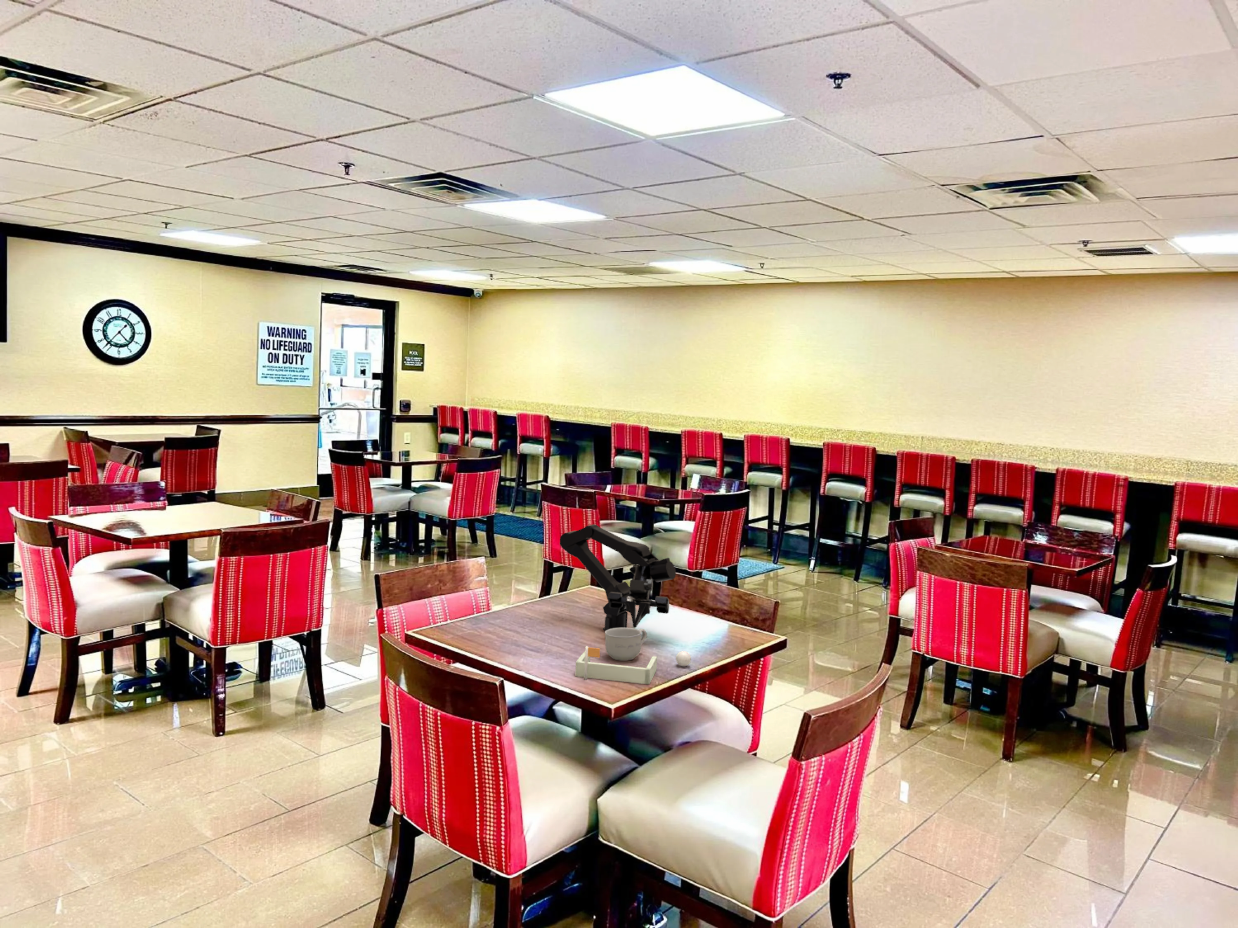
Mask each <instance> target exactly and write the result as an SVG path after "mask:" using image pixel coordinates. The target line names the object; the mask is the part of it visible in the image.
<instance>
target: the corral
mask: <svg viewBox="0 0 1238 928" xmlns="http://www.w3.org/2000/svg"><path fill="white" fill-rule="evenodd" d="M600 656H601V648H599V647H598V648H596V647H589V646H588V645H586V646H585V651H583V652H582V654H581V655H580V656H579V657H578V659H577V660H576V661H575V673H574V675H575V677H579V678H583V680H588V679H598V680H604V681H605V680H606V681H613V682H614V681H615V682H623V683H624V682H625V683H632V684H640V685H641V684H642V685H650V684H651V682H652V679H653V677H654V676H655V674H656V673H657V665H658V664H657V663H658V656H656V655H652V657H651V658H650V661H649V662H648V665H647V666H646V667H640V666H639V667H638V666H630V665H620V664H613V663H612V664H610V663H603V662H602V663H600V662H591V658H599V659H600V658H601V657H600Z"/></svg>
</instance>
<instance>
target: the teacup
mask: <svg viewBox="0 0 1238 928" xmlns="http://www.w3.org/2000/svg"><path fill="white" fill-rule="evenodd" d="M604 636H605V637H604V640H605V641H604V643H605V652H606V654H607V655H608V657H609V656H610V657H611V659H613V660H615V661H622V662H623V661H631V660H633V659H635V658H636V657H637V656H638V655H640V653H641V649H642V645H643V644H644V642H645V641H646V639H647V637H648V636H647V631H646V630H645V629H644V628H638V629H637V628H635V627H627V628H612V629H609V630H604Z"/></svg>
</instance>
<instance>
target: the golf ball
mask: <svg viewBox="0 0 1238 928" xmlns="http://www.w3.org/2000/svg"><path fill="white" fill-rule="evenodd" d="M675 661H676V663H677V664H678V665H679V666H680V667H687V666H688V665H690V663H691V661H692V657H691V654H690V653H689V652H688V651H685V650H682V651H679V652H678V653H677V654H676V656H675Z"/></svg>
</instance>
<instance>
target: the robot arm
mask: <svg viewBox="0 0 1238 928" xmlns="http://www.w3.org/2000/svg"><path fill="white" fill-rule="evenodd" d="M590 539H591V540H593V541H595V542H597V543H599V544H602V545H603V546H605V547H607V548H609V549H611V550H614V551H615V552H617V553H618V554H620V555H621V557H622V558H623V559H624V560H626V561H627V562H628V563H629V564H630V565H633V566H631V567H630V568H629V571H630V572H631V573H632V574H633V579H630V580H629V581H630V582H629V583H628V582H626V581H623V582H619V581H617V580H616V579H615V578H614V576H613V575H612V574H611V573H610V572H609V570H608V569H607V568H606V567H605V566H604V565H603V564H602V562H601V561H600V560H599V559H598V557H596V555H595V554H594V553H593V552H592V551H591V549H590V548H589V542H588V540H590ZM559 545H560V547H561V549H563V550H564V552H567V554H568V555H571V556H573V557H574V558H577V559H578V561H579V562H580V563H581V564H582V565H583V566H584V567H585V569H586V570H587V571H588V572H589V574H590V575H592V577H593V578H594V579H595V580H596V581H597V583H598V584H599V585H600V587H601V588H603V590H604V591H605V596H606V599H607V603H606V604H605V605H603V606H602V609H603V612H604V614H605V615H606V616H605V617H604V627H602V629H603V630H604V631H606V630H609V629H612V628H628V613H630V616H631V621H632V628H637V627H638V625H639V624H640V623H641V621H642V620H643V619H644V617H645V616H646V615H650V613H651V607H654V608H656V611H657V613H658V614H669V612H670V599H669V598H668V596H662V595H661V596H658V595H656V596H655V600H654V599H650V592H652V591H653V588H654V581H655V582H656V583H659V582H660V583H661V582H665V581H670V580H674V579H675V578H676V575H677V572H676V571H677V570H676V567H675V566H674V564H673V562H672V561H671V560H670V557H666V558H662V559H659V558H658V557H656V556H655V555H654V554H653V553H652V552H651V550H650V547H649V546H647V544H643V543H641V542H635V541H631V540H630V541H629V540H626V539H624V538H622V537H621V536H618V535H617V534H614V533H613V532H610V531H608V530H606V529H604V528H602V527H600V526H599V525H598V524H589V525H586V526H584V527H582V528H580V529H578V530H572V531H566V532H564V533H563V534H561V536H560V539H559ZM637 606H638V608H636V607H637Z"/></svg>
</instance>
